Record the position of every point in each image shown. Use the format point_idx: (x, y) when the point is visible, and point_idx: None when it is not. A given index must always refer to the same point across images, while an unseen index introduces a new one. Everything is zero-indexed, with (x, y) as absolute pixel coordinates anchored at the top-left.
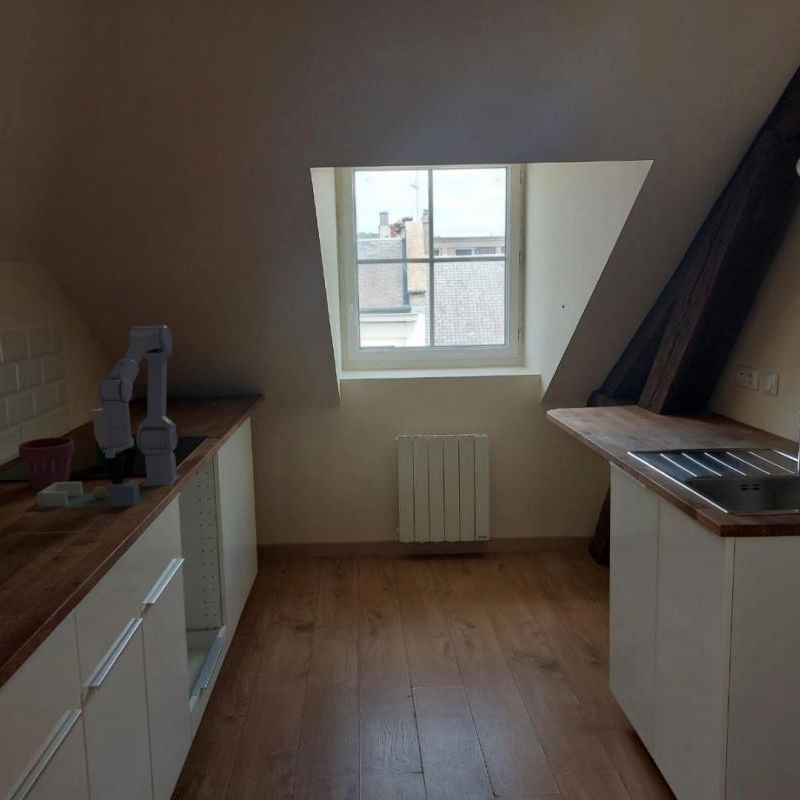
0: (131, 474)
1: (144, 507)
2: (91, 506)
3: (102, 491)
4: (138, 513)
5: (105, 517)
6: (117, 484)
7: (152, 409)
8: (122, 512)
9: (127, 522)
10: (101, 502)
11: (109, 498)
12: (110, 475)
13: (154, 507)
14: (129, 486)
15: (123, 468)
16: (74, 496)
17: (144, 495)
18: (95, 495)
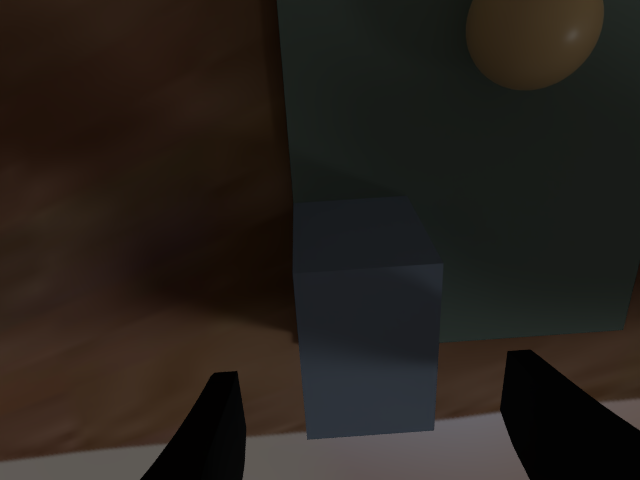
0: (504, 419)
1: (300, 385)
2: (297, 49)
3: (496, 80)
4: (186, 395)
5: (88, 251)
6: (382, 308)
7: None
8: (200, 308)
9: (23, 402)
10: (402, 85)
11: (510, 101)
12: (175, 436)
13: (298, 430)
14: (307, 419)
15: (546, 407)
16: None
17: (530, 316)
18: (468, 15)
